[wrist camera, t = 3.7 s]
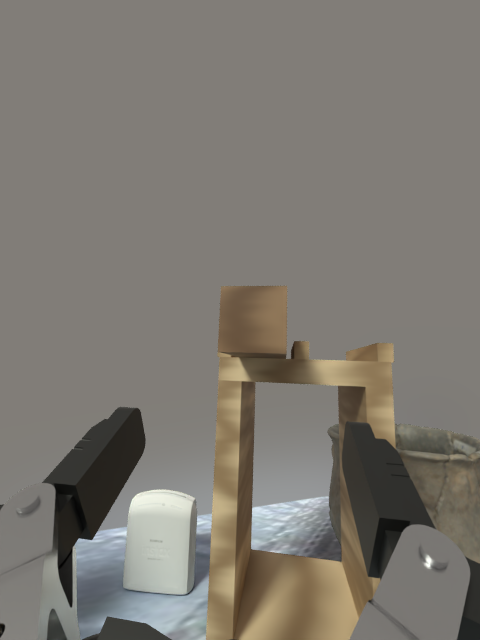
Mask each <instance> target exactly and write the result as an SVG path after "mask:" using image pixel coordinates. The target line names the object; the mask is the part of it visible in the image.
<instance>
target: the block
mask: <svg viewBox="0 0 480 640" xmlns="http://www.w3.org/2000/svg"><path fill="white" fill-rule="evenodd" d="M286 340H287V286H225V287H224V286H222V287H221V300H220V319H219V339H218V352H221V353H224V354H228V355H232V356H236V357H243V358H275V359H286V347H287V341H286Z"/></svg>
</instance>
